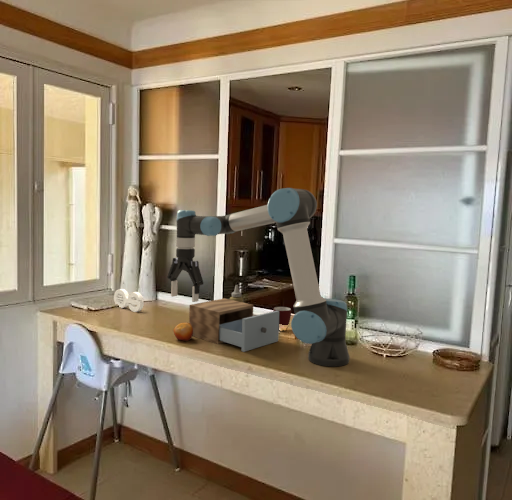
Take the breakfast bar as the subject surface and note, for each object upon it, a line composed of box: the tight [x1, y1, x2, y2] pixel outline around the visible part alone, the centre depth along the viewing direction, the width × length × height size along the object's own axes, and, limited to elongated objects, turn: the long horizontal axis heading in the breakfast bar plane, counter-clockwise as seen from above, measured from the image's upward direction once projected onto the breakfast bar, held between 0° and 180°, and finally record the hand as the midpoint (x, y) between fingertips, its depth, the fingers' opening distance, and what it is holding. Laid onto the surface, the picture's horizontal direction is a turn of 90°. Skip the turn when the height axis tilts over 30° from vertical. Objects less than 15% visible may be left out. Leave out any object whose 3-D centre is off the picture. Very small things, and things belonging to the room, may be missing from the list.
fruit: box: [172, 322, 193, 342], centre depth 200 cm, size 8×8×8 cm
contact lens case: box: [113, 288, 145, 313], centre depth 250 cm, size 22×2×10 cm, turn 52°
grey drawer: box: [219, 311, 280, 353], centre depth 198 cm, size 20×21×13 cm
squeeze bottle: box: [229, 284, 244, 303], centre depth 230 cm, size 8×8×18 cm
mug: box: [272, 306, 292, 325], centre depth 217 cm, size 11×8×10 cm
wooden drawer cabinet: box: [188, 297, 254, 345], centre depth 208 cm, size 18×21×13 cm
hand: (184, 298), depth 198 cm, fingers open, 13 cm apart
